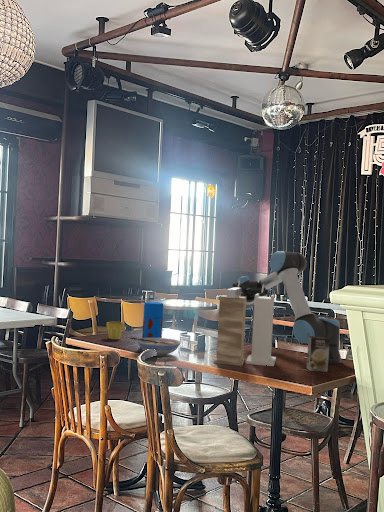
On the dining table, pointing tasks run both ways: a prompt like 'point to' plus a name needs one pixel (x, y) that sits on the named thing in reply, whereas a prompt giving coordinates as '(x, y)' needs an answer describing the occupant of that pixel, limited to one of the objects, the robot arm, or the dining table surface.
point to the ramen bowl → (158, 345)
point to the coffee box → (318, 353)
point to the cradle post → (262, 332)
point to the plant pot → (115, 329)
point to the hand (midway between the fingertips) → (251, 284)
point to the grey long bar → (233, 292)
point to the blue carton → (152, 320)
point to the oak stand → (231, 331)
